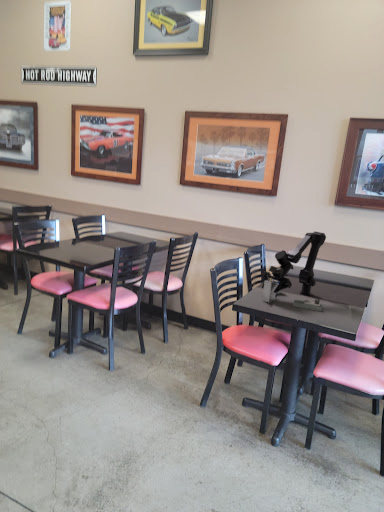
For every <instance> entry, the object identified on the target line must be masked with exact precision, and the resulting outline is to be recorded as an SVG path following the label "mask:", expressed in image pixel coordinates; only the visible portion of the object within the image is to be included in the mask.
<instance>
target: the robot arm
mask: <svg viewBox="0 0 384 512" xmlns="http://www.w3.org/2000/svg"><path fill="white" fill-rule="evenodd" d="M326 239H327V236H326V234H325V232H320V231H313V232H306V233H305V234H304V237H303V238H302V239H301V240H300V242H299V243H298V244H297V245H296V246H295V247H294V248H293V249H290V250H289V251H287V252H286V250H283V249H282V250H281V251H278V252H276V253H275V255H274V258H275V260H276V262H277V263H278V265H279V267H277V266H273V265H270V268H269V270H268V271H266V270H263V271H262V273H261V275H262V277H263V283H262V286H261V289H264V282H265V280H270V278H273V279H272V280H276V281H279V285H278V286H277V287H276V289H275V290H274V293H276V292H278V291H280V290H282V291H283V290H284V289H290V288H292V282H291V280H290V278H287V277H288V273H289V272H290V270H294V264H298V263H299V262H300V260H301V258H302V254H303V253H304V251H305V250H306V249H307V247H308V246H309V245H310V244H311V247H310V249H309V252H308V255H307V260H306V263H305V265H304V267H303V269H300V270H299V273H298V283H299V284H301V289H300V292H299V295H304V296H312V291H311V290H312V287H315V286H316V280H315V278H314V277H315V274H314V273H315V272H314V267H315V264H316V261H317V257H318V255H319V254H318V253H319V250H320V248H322V246H323V245H324V244H325V242H326ZM292 263H293V264H292ZM270 272H271V273H270Z"/></svg>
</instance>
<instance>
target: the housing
mask: <svg viewBox="0 0 384 512" xmlns="http://www.w3.org/2000/svg"><path fill="white" fill-rule="evenodd" d="M263 282H264V281H263ZM276 287H277V282H276V281H273V278H270V280H265V282H264V288H262V298H261V301H262V300H263V301H262V302H265V303H267V302H268V303H267V304H271V303H270V302H272V303H275V301H276V296H277V295H276V293H274V290H275V289H276Z"/></svg>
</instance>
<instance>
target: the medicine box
mask: <svg viewBox="0 0 384 512" xmlns="http://www.w3.org/2000/svg"><path fill="white" fill-rule="evenodd" d="M272 280H273V279H272ZM273 281H276V280H273ZM276 282H277V286H278V285H279V281H276ZM282 292H283V289H282V290H280V291H278V292H276V295H275V296H278V295H279V294H282Z"/></svg>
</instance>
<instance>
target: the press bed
mask: <svg viewBox="0 0 384 512" xmlns="http://www.w3.org/2000/svg"><path fill="white" fill-rule="evenodd" d="M304 302H305V300H302V299H301V300H300V299H293V303H292V307H297V308H302V309H306V310H312V311H317V312H322V310H323V307H322V306H323V304H322V303H320V306H319V307H317V306H311V305H306V304H304Z"/></svg>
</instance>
